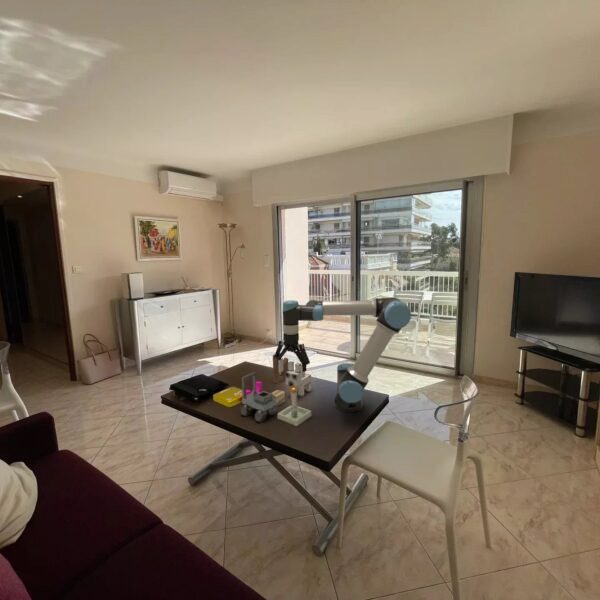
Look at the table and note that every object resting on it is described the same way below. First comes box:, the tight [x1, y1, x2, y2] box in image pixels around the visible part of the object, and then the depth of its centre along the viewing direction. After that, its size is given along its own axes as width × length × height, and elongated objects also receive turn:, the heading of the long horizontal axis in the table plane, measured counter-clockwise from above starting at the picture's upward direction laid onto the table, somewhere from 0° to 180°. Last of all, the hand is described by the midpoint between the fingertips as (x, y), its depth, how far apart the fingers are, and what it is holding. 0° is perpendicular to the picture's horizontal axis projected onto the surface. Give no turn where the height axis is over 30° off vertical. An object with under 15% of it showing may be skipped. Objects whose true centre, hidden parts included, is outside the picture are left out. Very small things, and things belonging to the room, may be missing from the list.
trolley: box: [240, 371, 278, 423], centre depth 161 cm, size 15×14×20 cm
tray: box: [276, 405, 312, 427], centre depth 159 cm, size 12×12×3 cm
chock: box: [271, 389, 286, 407], centre depth 175 cm, size 5×7×6 cm
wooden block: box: [271, 353, 289, 384], centre depth 204 cm, size 4×11×18 cm, turn 130°
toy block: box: [242, 380, 263, 396], centre depth 180 cm, size 15×6×8 cm, turn 157°
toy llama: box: [285, 360, 312, 398], centre depth 186 cm, size 8×18×20 cm, turn 146°
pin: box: [288, 386, 298, 418], centre depth 158 cm, size 5×5×15 cm
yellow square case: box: [212, 386, 243, 408], centre depth 179 cm, size 15×15×5 cm
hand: (291, 374), depth 157 cm, fingers open, 13 cm apart
